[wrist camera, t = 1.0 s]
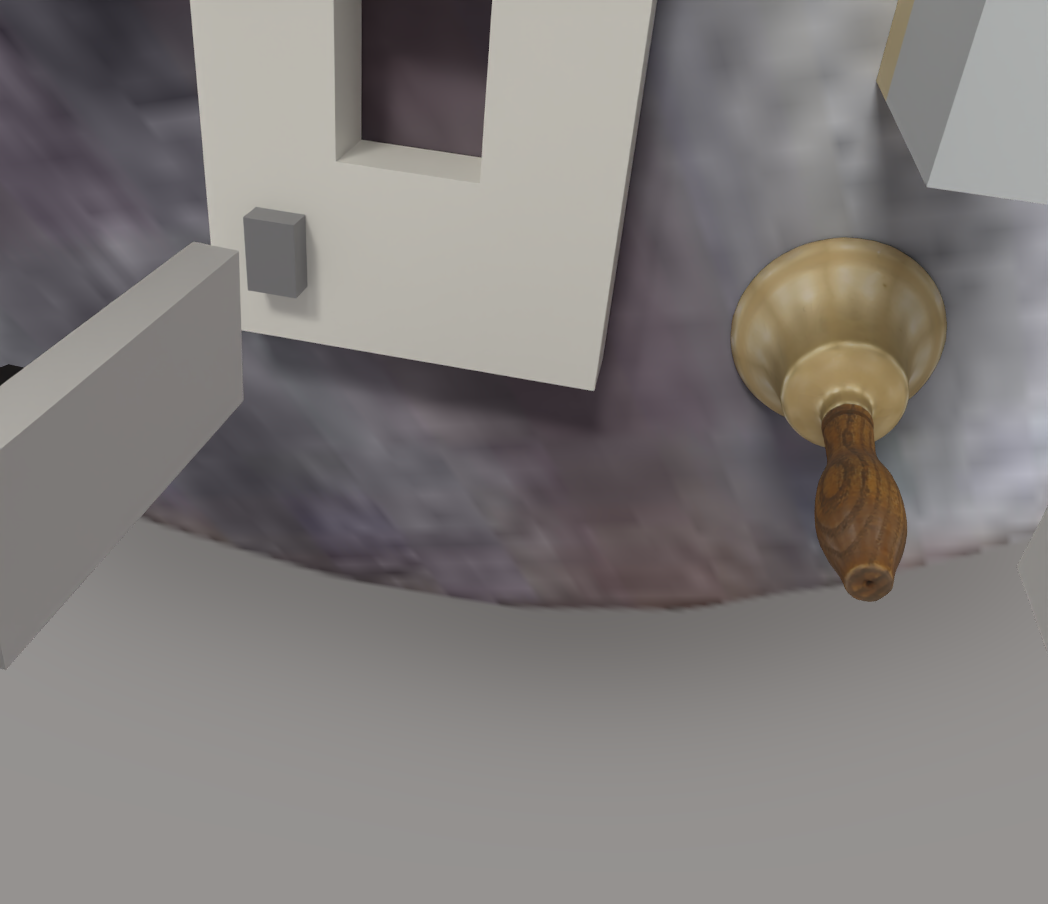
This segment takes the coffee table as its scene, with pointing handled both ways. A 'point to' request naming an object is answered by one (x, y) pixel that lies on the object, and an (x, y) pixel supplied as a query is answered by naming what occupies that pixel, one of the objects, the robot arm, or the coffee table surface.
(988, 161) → the plug
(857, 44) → the coffee table surface
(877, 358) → the hand bell
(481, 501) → the coffee table surface
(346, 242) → the socket plate
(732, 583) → the coffee table surface
